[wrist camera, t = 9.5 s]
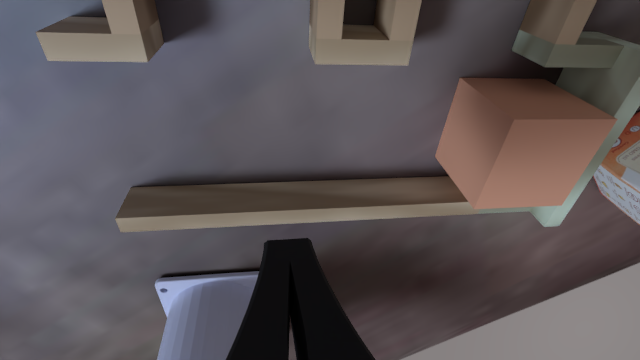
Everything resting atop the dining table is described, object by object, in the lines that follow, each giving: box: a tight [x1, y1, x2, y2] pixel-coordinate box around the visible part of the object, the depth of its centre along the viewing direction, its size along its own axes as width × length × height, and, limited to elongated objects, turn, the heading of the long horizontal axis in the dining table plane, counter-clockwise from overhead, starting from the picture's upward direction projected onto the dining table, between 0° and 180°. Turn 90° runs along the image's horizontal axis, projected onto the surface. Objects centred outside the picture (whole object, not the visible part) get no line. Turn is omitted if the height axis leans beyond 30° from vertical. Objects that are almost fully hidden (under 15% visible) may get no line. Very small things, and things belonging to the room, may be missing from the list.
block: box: [435, 78, 618, 209], centre depth 18 cm, size 5×5×5 cm
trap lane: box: [36, 0, 640, 232], centre depth 15 cm, size 17×25×4 cm
